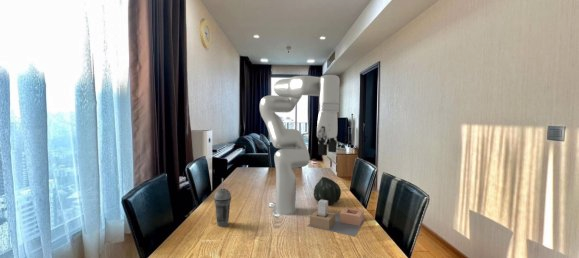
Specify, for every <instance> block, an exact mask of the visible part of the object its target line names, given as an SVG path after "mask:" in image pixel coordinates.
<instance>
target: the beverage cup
mask: <svg viewBox="0 0 579 258" xmlns="http://www.w3.org/2000/svg"><path fill="white" fill-rule="evenodd" d="M213 200H214V206H215V216H216V225H217V226H218V227H221V228H222V227H223V228H224V227H227V226H229V219H230V207H231V202H232V195H231V192H230V191H229V189H227V188H224V177H222V178H221V188H219V189H218V190H217V191H216V192H215V193H214V198H213Z"/></svg>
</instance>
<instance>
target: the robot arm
mask: <svg viewBox="0 0 579 258" xmlns="http://www.w3.org/2000/svg"><path fill="white" fill-rule="evenodd" d="M340 80H341V79H340V77H339V76H338V75H335V74H324V75H321V76H312V75H295V76H292V77H290V78H282V79H279V80H277V81H276V82H275V83H274V86H273V90H274V93H275V94H276V95H270V94H269V95H266V96H263V97H262V98H261V99H260V101H259V113H260V116H261V118H262V120H263V121H264V124H265V126H266V128H267V131H268V134H269V138H270V141H271V144H272V146H273V147H274V148H275V149H278V150H277V151H276V152H274V156H273V159H274V167H275V202H272V201H271V202H269V205H268V206H269V207H268V208H270V209H273V210H272V216H274V217H275V218H278V219H279V218H280V217H282V216H283V215H285V216H286V215H287V216H289V215H293V214H295V213H296V206H297V205H296V203H297V200H296V199H297V192H296V191H297V177H296V175H295V173H294V171H293V169H297V168H304V167H307V166H308V165H309V163H310V159H311V157H310V153H309V149H308V147H307V144H306V142H305V140H304V137H303V134H302V132H300V130H298V129H294V128H287V127H286V126H285V125H284V122H283V119H282V118H281V117H280V116H279V115H278V114H277V113H290V112H292V111H293V110H294V109H295V107H296V106H297V104H298V103H299V101H300V99H301V98H302V96H313V97H318V116H317V124H316V125H317V126H316V137H317V141H318V142H317V143H318V148H317V150H318V151H317V153H318V156H327V155H328V153H336V152H337V141H338V130H339V129H338V113H339V112H340V109H339V108H340V86H341V85H340V82H341V81H340ZM327 142H328V144H327Z"/></svg>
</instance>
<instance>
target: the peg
mask: <svg viewBox="0 0 579 258" xmlns="http://www.w3.org/2000/svg"><path fill="white" fill-rule="evenodd" d="M328 208H329V204H328V201H327V200H320V201H318V202H317V210H318V216H320V217H325V218H326V217H327V216H328V212H329V209H328Z"/></svg>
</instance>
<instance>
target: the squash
mask: <svg viewBox="0 0 579 258" xmlns="http://www.w3.org/2000/svg"><path fill="white" fill-rule="evenodd" d="M341 196H342V191H341V187H340V185H339V184H338V183H337V182H335V181H334V180H333V179H331V178H328V177H327V176H326V177H325V176H322V177H321V178H320V179H319V181H318V182H317V183H316V185H315V186H314V188H313V197H314V200H316V202H317V203H318V201H320V200H327V201H328V205H331V206H333V205H334V204H335V203H336V204H337V203H338V202H339V201H340V197H341Z"/></svg>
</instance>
